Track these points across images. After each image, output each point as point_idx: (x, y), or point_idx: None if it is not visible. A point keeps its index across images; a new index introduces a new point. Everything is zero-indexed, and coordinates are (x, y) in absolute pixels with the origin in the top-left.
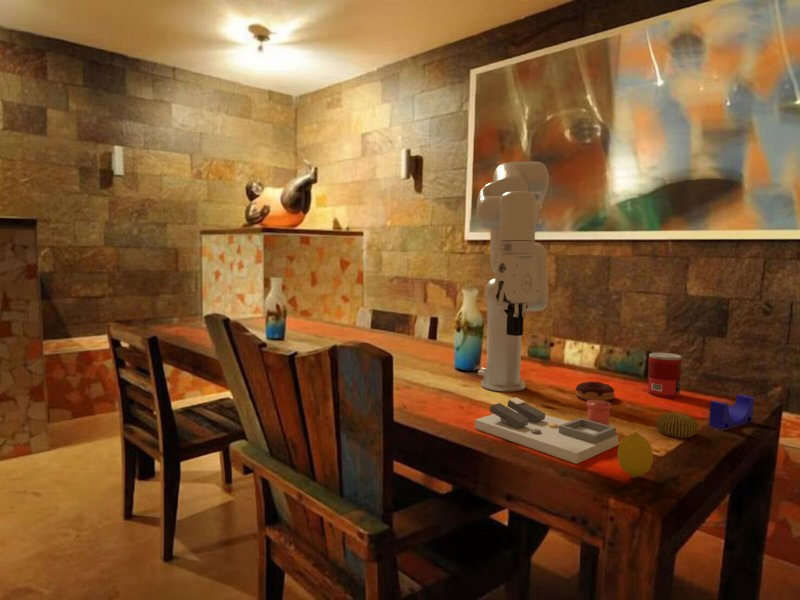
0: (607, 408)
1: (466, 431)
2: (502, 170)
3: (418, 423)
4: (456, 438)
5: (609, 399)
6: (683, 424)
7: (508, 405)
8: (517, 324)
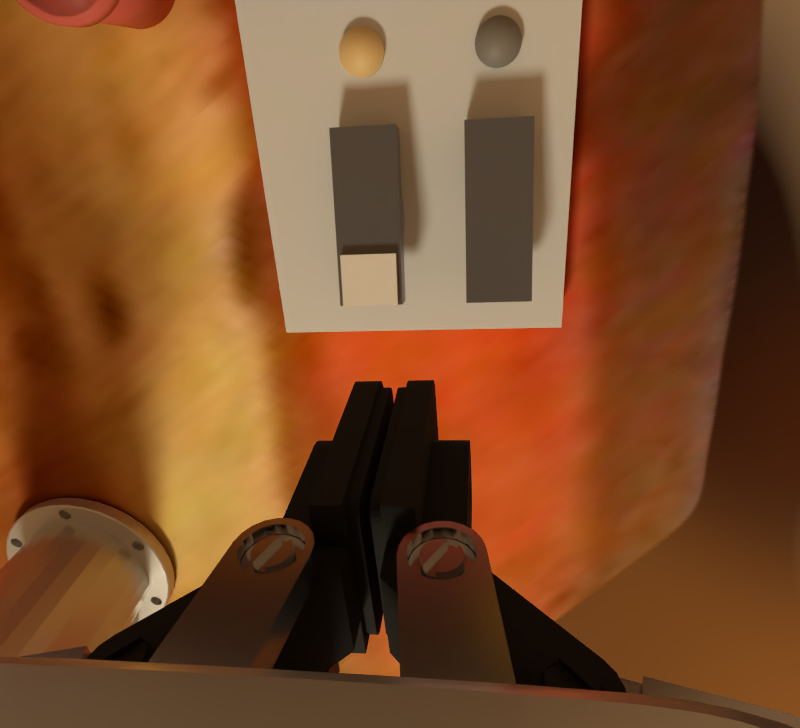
0: None
1: (607, 310)
2: None
3: (666, 466)
4: (702, 279)
5: None
6: None
7: (404, 295)
8: (424, 462)
